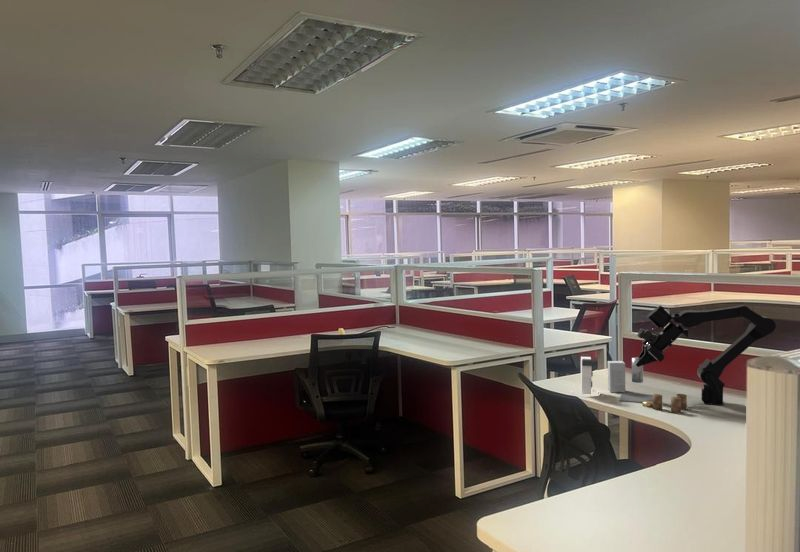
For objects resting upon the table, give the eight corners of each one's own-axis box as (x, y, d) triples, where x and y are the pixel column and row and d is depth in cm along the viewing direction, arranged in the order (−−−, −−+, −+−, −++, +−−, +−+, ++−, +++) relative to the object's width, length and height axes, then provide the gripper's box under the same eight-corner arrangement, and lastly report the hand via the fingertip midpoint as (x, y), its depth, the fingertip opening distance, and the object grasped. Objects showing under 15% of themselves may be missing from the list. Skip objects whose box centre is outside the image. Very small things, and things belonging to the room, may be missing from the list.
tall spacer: (644, 381, 221) (644, 357, 221) (641, 383, 218) (641, 359, 218) (633, 379, 224) (633, 357, 223) (630, 382, 220) (630, 358, 220)
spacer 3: (686, 407, 208) (686, 394, 208) (686, 410, 205) (686, 396, 205) (676, 407, 209) (676, 393, 209) (676, 409, 206) (676, 395, 206)
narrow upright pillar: (602, 398, 223) (602, 360, 222) (571, 397, 226) (571, 359, 225) (599, 390, 234) (599, 354, 233) (570, 389, 237) (570, 353, 236)
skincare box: (622, 389, 235) (622, 360, 234) (625, 392, 230) (625, 362, 230) (607, 389, 235) (607, 360, 235) (610, 392, 231) (610, 362, 230)
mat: (654, 395, 225) (654, 394, 225) (654, 404, 214) (654, 403, 214) (621, 393, 229) (621, 392, 229) (619, 401, 218) (619, 400, 218)
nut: (654, 405, 213) (654, 401, 213) (654, 408, 209) (654, 404, 209) (642, 404, 214) (642, 400, 214) (642, 407, 211) (642, 403, 211)
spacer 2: (680, 411, 204) (680, 397, 204) (681, 413, 201) (681, 399, 201) (670, 410, 206) (670, 396, 205) (671, 412, 203) (671, 398, 202)
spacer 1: (662, 408, 209) (662, 394, 208) (662, 410, 206) (662, 396, 205) (652, 407, 210) (652, 393, 210) (652, 409, 207) (652, 395, 207)
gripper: (647, 318, 227) (618, 345, 231) (654, 325, 209) (622, 354, 213) (669, 338, 225) (639, 365, 229) (678, 346, 207) (645, 376, 211)
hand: (636, 364), depth 221 cm, fingers closed on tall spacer, 4 cm apart
